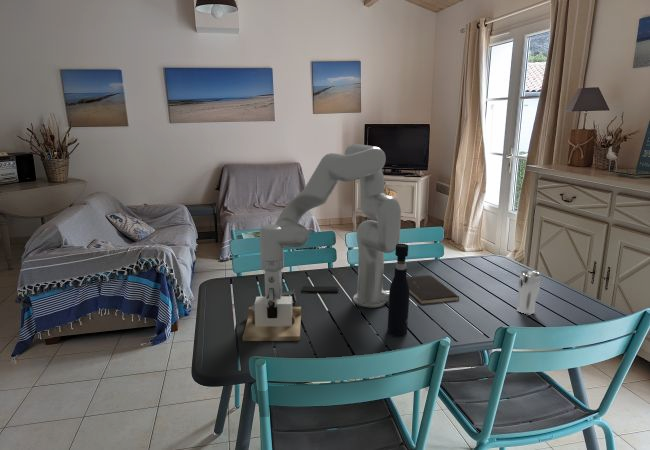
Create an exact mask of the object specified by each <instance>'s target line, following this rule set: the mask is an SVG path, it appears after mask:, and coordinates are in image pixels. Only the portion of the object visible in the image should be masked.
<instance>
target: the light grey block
mask: <svg viewBox="0 0 650 450" xmlns="http://www.w3.org/2000/svg"><path fill="white" fill-rule="evenodd" d="M273 297H275V296H273ZM273 302H274V303H275V300H273ZM292 303H293V296H292V295H282V296H281V299H280V300H279V299H277V300H276V306H277V318H267V305H268V300H267V299H266V296H255V301H254V304H253V305H251V307H252V310H255V327H265V326H292Z"/></svg>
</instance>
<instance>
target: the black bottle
mask: <svg viewBox="0 0 650 450" xmlns="http://www.w3.org/2000/svg"><path fill="white" fill-rule="evenodd" d="M408 254H409V245H408V244H406V243H399V244H396V249H395V256H396V258H397V259H396V262H395V267H394V274H393V275H394V276H393V278H392V280H391V283H390V287H389V290H388V291H389V298H388V312H387V313H388V314H387V334H389V335H390V336H392V337H396V338H397V337H399V338H400V337H404V336H406V335H408V324H409V307H410V295H411V293H410V292H409V285H408V281H407V278H406V277H407V271H408V269H407V263H406V258H407V257H408V256H409V255H408Z"/></svg>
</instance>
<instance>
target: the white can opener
mask: <svg viewBox="0 0 650 450" xmlns="http://www.w3.org/2000/svg"><path fill="white" fill-rule="evenodd" d="M541 280H542V273H540V272H538V271H535V270H528V269H525V270H521V271H520V276H519V280H518V305H517V307H516V312H517V311H519V312H521V313H524V314H532V313H534V312H535V313H536V311H535V309H536V307H535V305H536V302H537V298H538V296H539V293H540V289H541Z"/></svg>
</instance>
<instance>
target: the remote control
mask: <svg viewBox="0 0 650 450" xmlns="http://www.w3.org/2000/svg"><path fill="white" fill-rule="evenodd" d="M302 292H309V293H308V294H339V287H338V286H335V285H334V286H332V285H331V286H329V285H328V286H325V285H324V286H323V285H321V286H320V285H319V286H318V285H316V286H315V285H313V286H312V285H310V286H309V285H304V286H302V287H301V293H302Z"/></svg>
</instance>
